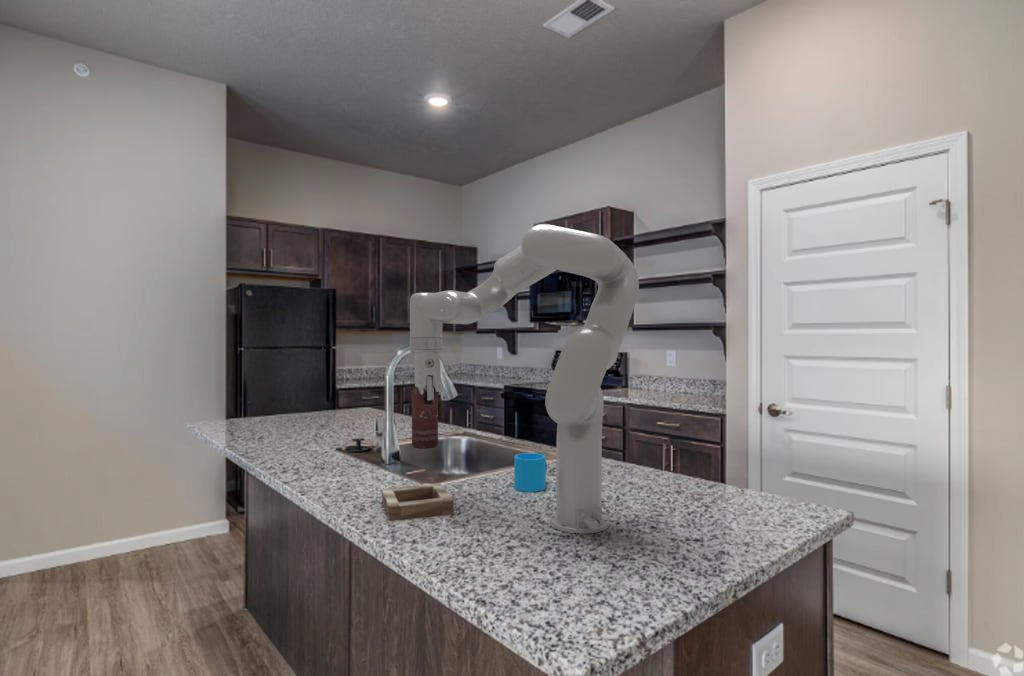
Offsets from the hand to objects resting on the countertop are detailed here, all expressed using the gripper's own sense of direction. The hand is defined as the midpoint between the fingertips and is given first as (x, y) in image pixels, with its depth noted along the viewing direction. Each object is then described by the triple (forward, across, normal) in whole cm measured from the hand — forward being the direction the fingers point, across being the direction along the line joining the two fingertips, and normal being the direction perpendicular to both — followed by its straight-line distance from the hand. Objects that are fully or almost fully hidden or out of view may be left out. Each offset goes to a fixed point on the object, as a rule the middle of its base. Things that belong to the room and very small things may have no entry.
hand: (426, 423), depth 129 cm
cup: (+6, +1, 0) cm, 6 cm away
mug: (+19, +8, -30) cm, 36 cm away
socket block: (+19, -2, +3) cm, 19 cm away
